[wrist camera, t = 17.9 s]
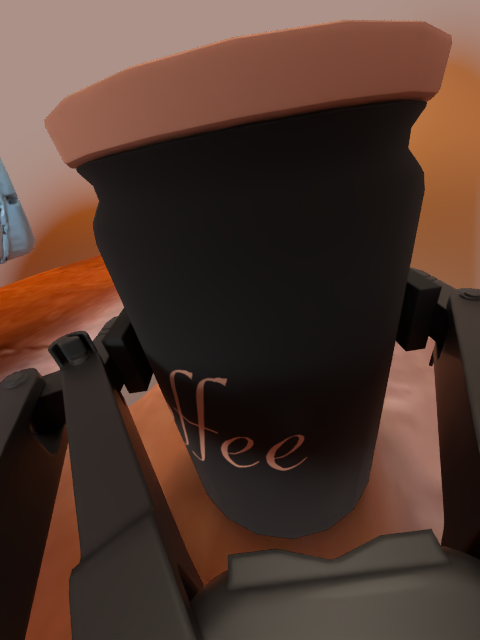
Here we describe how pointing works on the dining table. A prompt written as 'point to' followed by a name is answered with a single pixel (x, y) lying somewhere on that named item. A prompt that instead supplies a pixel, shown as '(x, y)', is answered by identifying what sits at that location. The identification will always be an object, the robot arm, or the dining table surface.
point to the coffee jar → (265, 246)
